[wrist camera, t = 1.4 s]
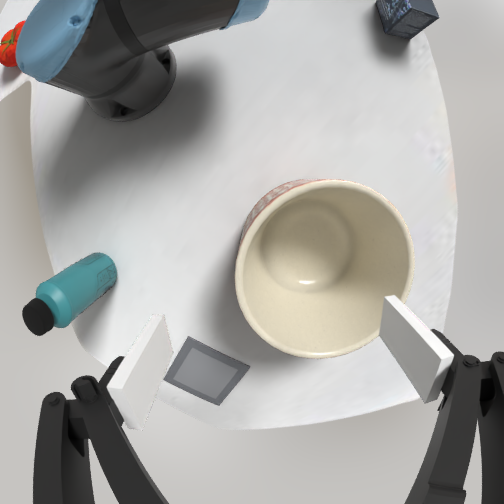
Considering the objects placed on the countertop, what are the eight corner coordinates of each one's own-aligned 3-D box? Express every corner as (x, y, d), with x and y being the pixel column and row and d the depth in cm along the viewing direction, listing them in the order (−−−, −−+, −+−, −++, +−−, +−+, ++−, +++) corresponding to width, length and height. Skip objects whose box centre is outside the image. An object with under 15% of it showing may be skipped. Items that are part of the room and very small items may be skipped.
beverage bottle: (96, 241, 41) (14, 283, 22) (128, 261, 42) (54, 316, 22) (86, 273, 42) (12, 325, 23) (116, 293, 43) (49, 356, 24)
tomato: (8, 74, 31) (-13, 68, 24) (22, 34, 29) (3, 25, 21) (36, 63, 32) (14, 54, 24) (52, 20, 29) (33, 9, 22)
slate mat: (163, 378, 48) (163, 379, 47) (188, 336, 45) (187, 337, 44) (219, 404, 49) (218, 406, 49) (249, 366, 46) (249, 368, 46)
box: (374, 2, 29) (396, -27, 19) (400, 9, 29) (426, -17, 19) (383, 33, 31) (411, 7, 21) (410, 40, 31) (441, 18, 21)
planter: (270, 321, 44) (277, 381, 30) (219, 210, 40) (200, 228, 25) (379, 275, 42) (425, 315, 28) (341, 160, 38) (386, 152, 23)
